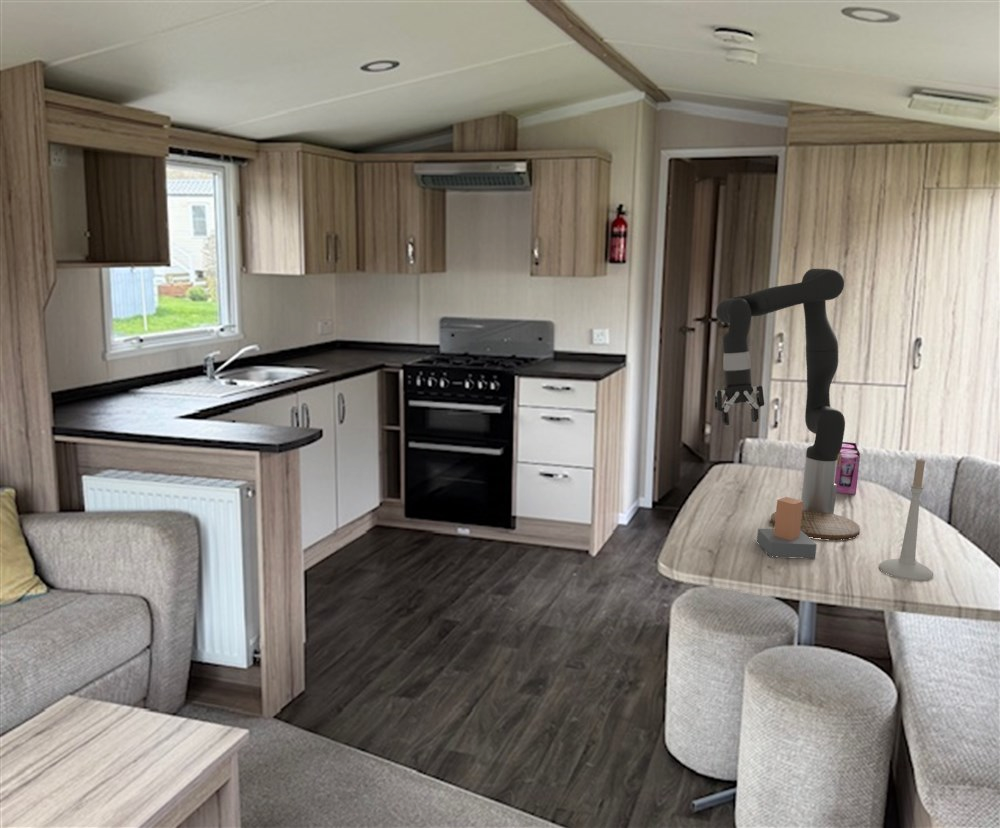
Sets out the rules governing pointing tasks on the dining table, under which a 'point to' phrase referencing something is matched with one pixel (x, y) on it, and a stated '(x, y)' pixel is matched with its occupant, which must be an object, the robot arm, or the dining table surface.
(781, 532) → the terracotta block
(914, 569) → the candlestick
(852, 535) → the trivet
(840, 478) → the gum box
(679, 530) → the dining table surface
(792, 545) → the charcoal plinth
